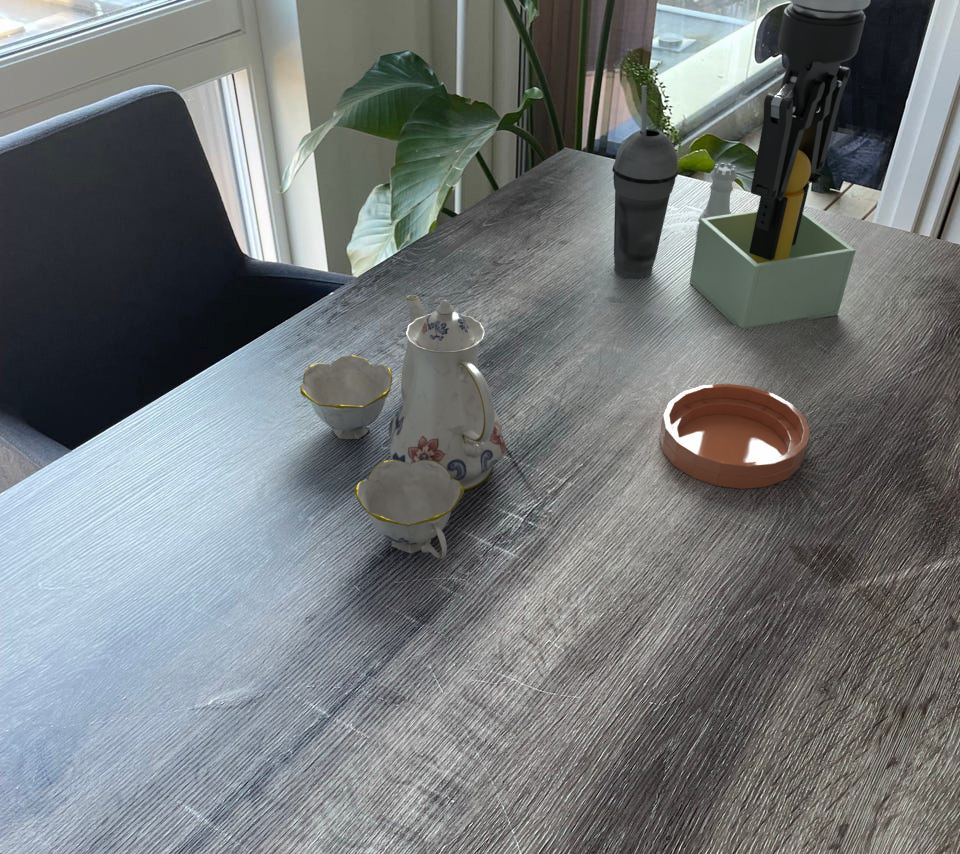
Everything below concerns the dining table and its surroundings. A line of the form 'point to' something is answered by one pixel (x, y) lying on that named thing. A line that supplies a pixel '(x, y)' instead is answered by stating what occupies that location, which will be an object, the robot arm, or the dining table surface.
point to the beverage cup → (641, 197)
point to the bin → (769, 272)
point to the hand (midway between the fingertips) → (772, 247)
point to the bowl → (734, 435)
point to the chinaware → (417, 424)
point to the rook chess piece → (720, 191)
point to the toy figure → (791, 207)
